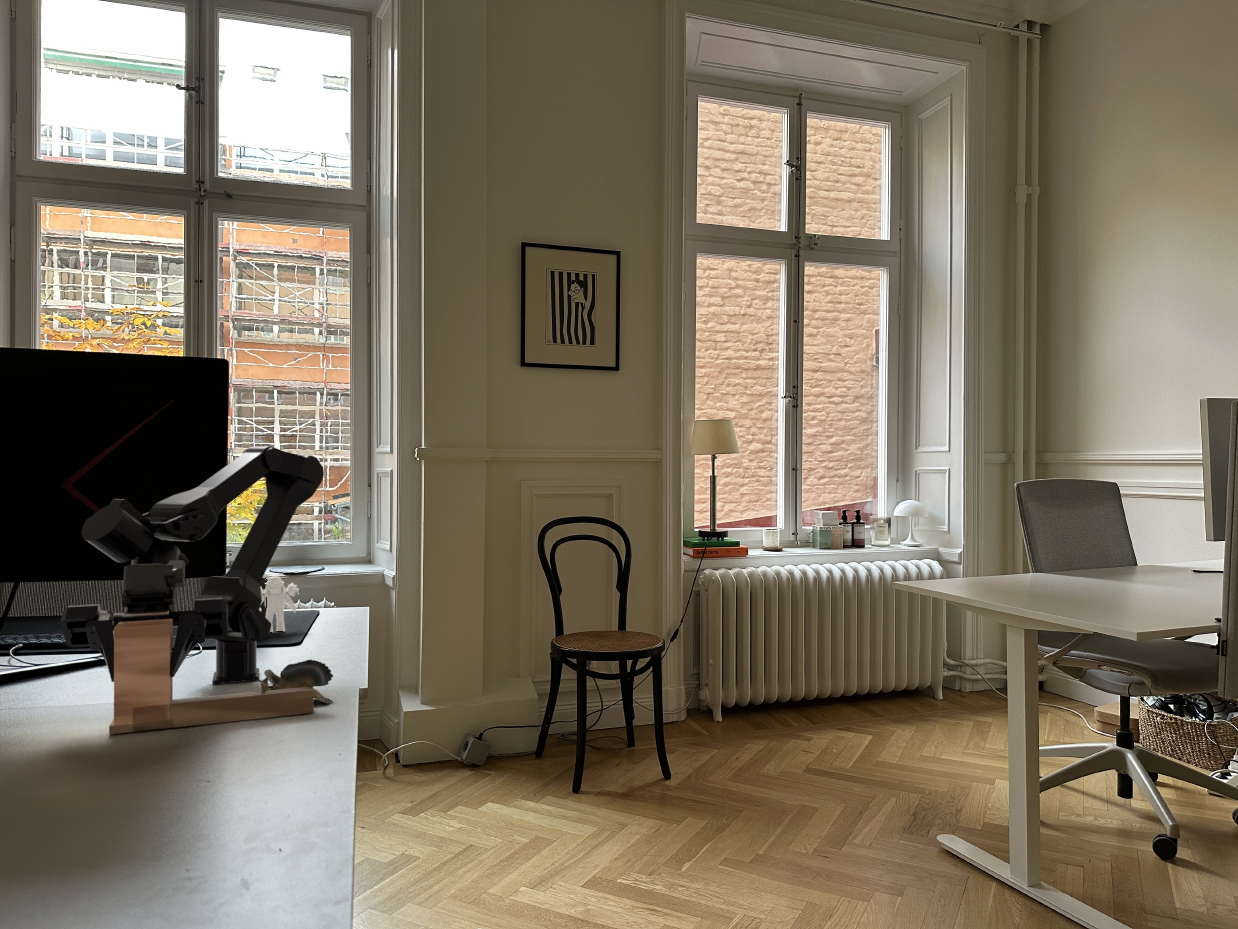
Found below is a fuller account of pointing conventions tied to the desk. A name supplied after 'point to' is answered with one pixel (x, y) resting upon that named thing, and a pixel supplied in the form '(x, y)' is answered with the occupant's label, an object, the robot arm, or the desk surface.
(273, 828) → the desk surface
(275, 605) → the blocky character figurine
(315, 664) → the brown squirrel figurine
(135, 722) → the wooden l-shaped stand
